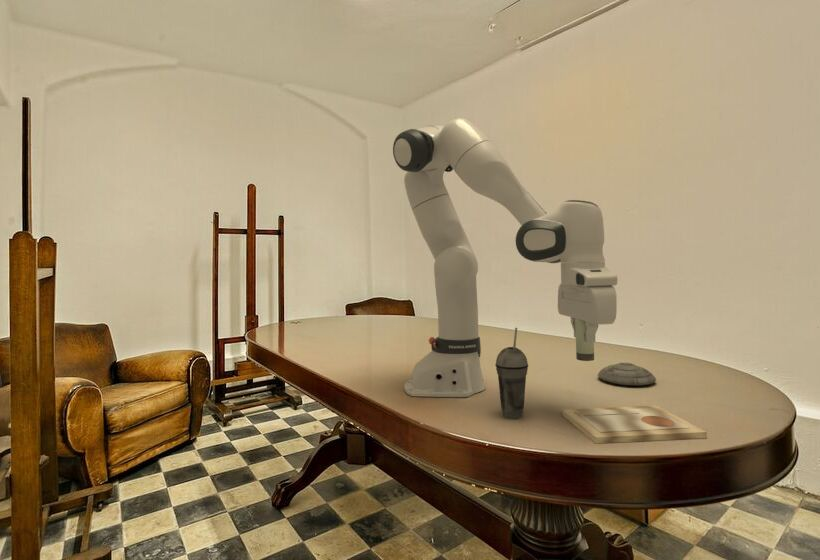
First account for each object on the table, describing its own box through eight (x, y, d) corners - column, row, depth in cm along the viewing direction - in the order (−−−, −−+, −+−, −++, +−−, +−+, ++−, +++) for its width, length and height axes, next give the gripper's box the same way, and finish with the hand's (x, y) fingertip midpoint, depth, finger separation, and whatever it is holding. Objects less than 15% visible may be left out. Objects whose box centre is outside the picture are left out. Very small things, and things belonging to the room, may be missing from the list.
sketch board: (595, 443, 84) (595, 435, 84) (561, 415, 100) (561, 408, 100) (706, 438, 86) (706, 430, 86) (655, 410, 102) (655, 404, 102)
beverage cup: (492, 411, 104) (490, 326, 103) (522, 409, 105) (521, 325, 104) (501, 422, 97) (499, 330, 96) (534, 420, 97) (532, 329, 97)
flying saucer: (605, 388, 121) (605, 368, 121) (592, 374, 136) (591, 357, 135) (665, 389, 118) (665, 369, 118) (644, 375, 133) (644, 357, 133)
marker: (580, 361, 94) (579, 309, 94) (573, 357, 98) (572, 307, 97) (597, 360, 94) (596, 308, 94) (589, 356, 98) (588, 307, 98)
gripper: (549, 275, 105) (551, 333, 106) (590, 277, 85) (592, 349, 86) (575, 274, 106) (577, 332, 106) (622, 276, 85) (624, 348, 86)
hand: (584, 340), depth 96 cm, fingers closed on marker, 4 cm apart
